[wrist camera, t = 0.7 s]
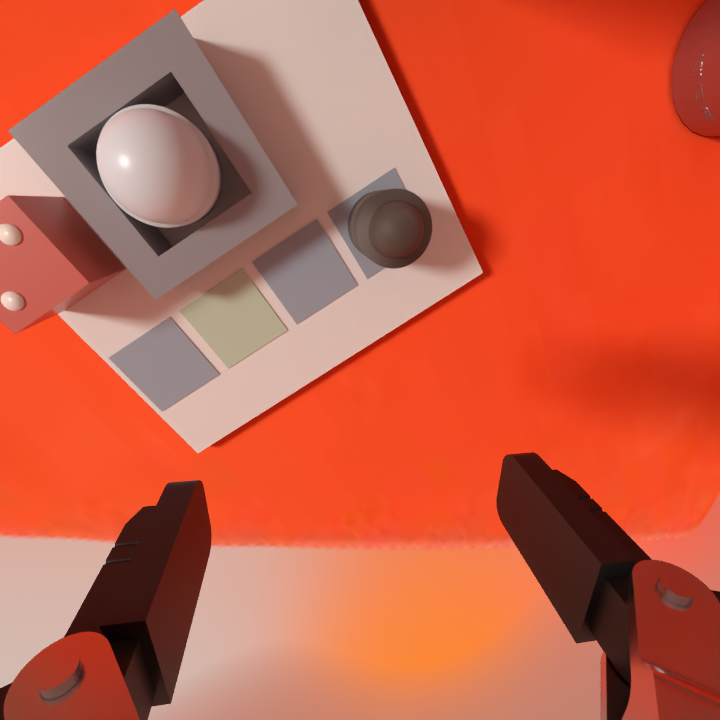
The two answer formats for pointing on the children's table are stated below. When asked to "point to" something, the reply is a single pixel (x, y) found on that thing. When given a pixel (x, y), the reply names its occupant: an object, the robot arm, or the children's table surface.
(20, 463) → the children's table surface
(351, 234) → the pawn
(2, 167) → the game board
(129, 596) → the robot arm
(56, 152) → the dome housing
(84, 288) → the die
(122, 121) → the dome
